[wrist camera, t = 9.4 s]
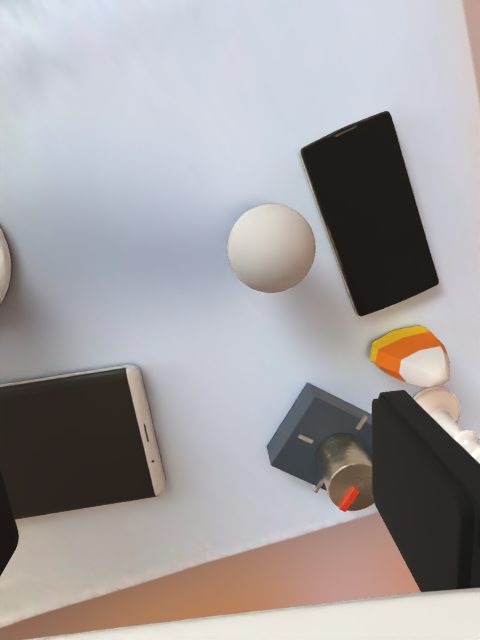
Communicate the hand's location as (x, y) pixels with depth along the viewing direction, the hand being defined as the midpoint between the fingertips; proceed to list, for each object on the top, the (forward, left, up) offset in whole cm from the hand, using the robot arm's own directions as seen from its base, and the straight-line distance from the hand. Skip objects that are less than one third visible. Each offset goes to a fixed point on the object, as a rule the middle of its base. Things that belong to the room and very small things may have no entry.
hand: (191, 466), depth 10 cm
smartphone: (+14, +4, -26) cm, 30 cm away
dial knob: (+10, -17, -23) cm, 30 cm away
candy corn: (+16, -8, -26) cm, 32 cm away
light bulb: (+5, +3, -26) cm, 27 cm away
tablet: (-20, -14, -26) cm, 36 cm away
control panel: (+10, -16, -26) cm, 33 cm away
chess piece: (+20, -15, -26) cm, 36 cm away
